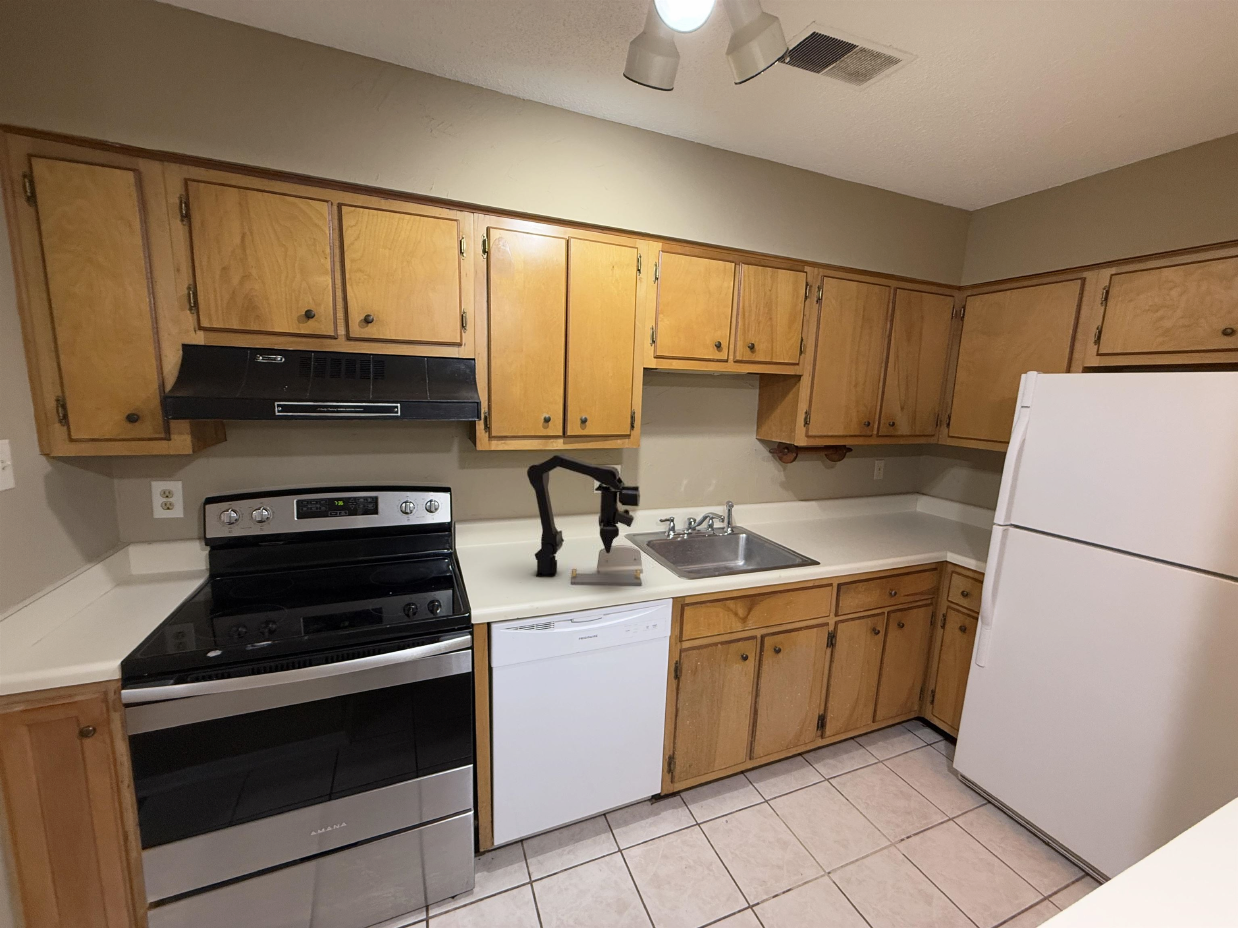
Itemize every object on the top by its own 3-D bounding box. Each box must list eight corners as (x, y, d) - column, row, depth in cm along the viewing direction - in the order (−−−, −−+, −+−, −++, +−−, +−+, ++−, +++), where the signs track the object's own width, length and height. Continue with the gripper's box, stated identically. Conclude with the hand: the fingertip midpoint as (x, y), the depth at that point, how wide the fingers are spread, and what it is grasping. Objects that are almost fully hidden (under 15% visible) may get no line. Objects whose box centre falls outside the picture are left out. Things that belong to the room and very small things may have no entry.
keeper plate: (570, 585, 169) (571, 573, 168) (571, 576, 177) (571, 565, 176) (641, 585, 171) (642, 574, 170) (639, 577, 178) (639, 566, 178)
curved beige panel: (598, 575, 179) (598, 547, 178) (596, 572, 183) (596, 545, 183) (643, 573, 182) (644, 546, 182) (640, 570, 187) (640, 543, 187)
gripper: (635, 511, 161) (633, 557, 163) (630, 498, 179) (628, 540, 182) (600, 510, 160) (599, 557, 163) (599, 498, 179) (597, 540, 181)
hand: (607, 548), depth 172 cm, fingers open, 9 cm apart
